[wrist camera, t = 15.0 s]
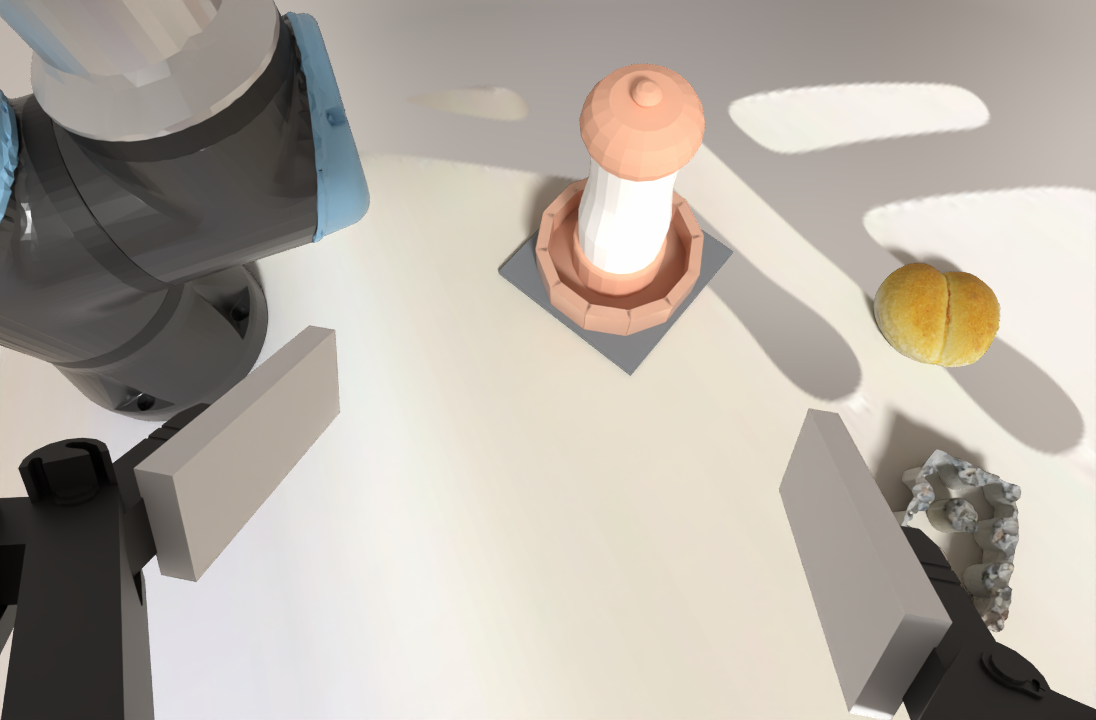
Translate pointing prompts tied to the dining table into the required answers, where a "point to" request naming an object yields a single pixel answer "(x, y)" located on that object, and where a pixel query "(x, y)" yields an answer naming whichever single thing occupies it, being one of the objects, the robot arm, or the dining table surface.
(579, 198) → the dish
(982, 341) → the bread roll
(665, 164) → the pepper shaker
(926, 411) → the dining table surface
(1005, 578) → the egg carton
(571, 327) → the mat
